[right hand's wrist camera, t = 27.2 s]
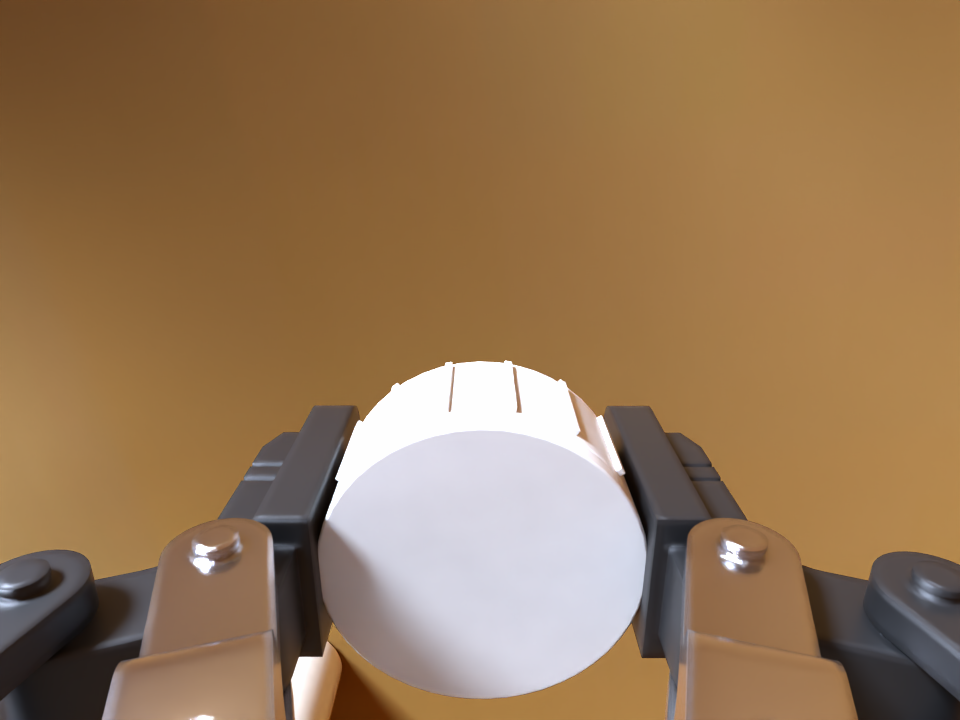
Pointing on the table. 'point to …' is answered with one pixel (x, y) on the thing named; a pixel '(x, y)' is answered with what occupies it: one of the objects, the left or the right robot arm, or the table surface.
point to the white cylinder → (316, 685)
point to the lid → (482, 534)
